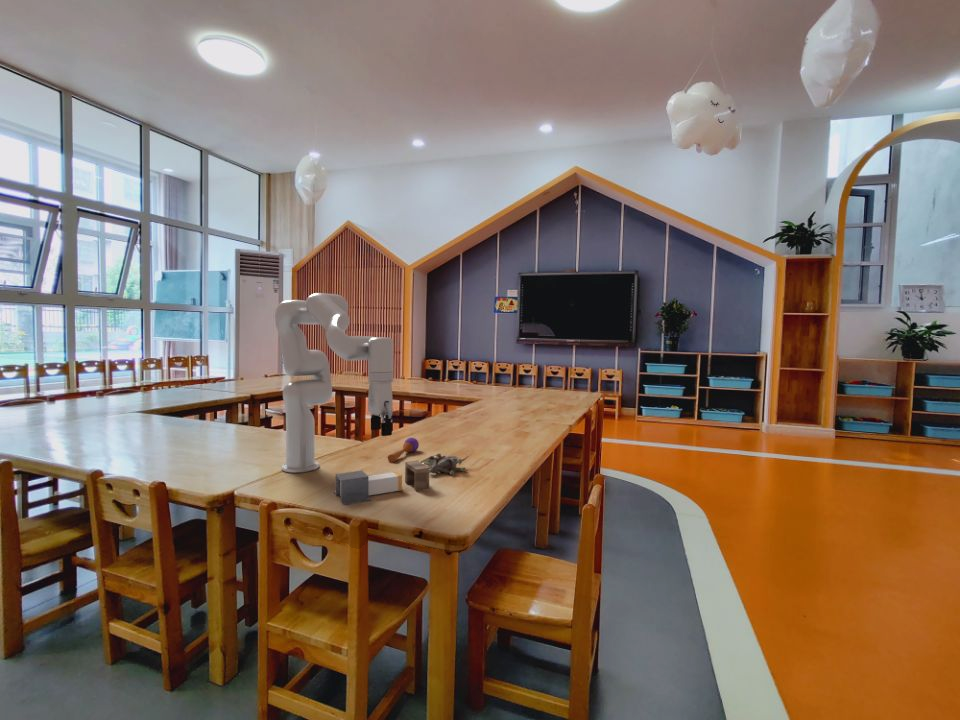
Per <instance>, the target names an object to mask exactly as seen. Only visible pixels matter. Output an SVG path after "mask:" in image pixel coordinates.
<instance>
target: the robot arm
mask: <svg viewBox="0 0 960 720" xmlns="http://www.w3.org/2000/svg"><path fill="white" fill-rule="evenodd" d="M348 312H349V303H348V301H347V299H345V297H344V296H343V295H340V294H337V293H335V294H334V293H325V292H324V293H323V292H315V293H312V294H311V295H309V296H307V298H306V300H301V299H288V300H287V299H286V300H283V301H282V302H280V303H279V304H278V305H277V306H276V309H275V312H274V323H275V327H276V331H277V333H278V336H279V338H280V346H281V347H280V348H281V353H282V360H283V361H282V363H283V368H284V372H285V374H286V375H287V376H290V377H293V378H295V377H297V378H298V377H301V378H302V377H311V379H302V380H301V379H299V380H293V381H290V382H288V383H286V385H285V386H283V389H282V399H283V404H284V409H285V411H284V412H285V432H286V433H285V439H286V440H285V441H286V443H285V444H286V445H285V447H286V448H285V449H286V452H285V453H286V454H285V455H286V457H285V458H286V459H285V460H286V461H285V463H283V464H282V465H281V470H282V471H283V472H285V473H291V474H292V473H294V474H295V473H296V474H298V473H306V472H312V471H314V470H317V469H318V468H319V467H320V462H318V461H317V460H315V459H316V458H315V456H316V455H315V453H316V452H315V449H316V447H315V438H316V437H315V417H314V414H313V412H312V411H311V409H310V408H309V407H311V406H317V405H324V404H327V403H328V402H330V401H331V399H332V397H333V383H332V377H331V375H332V374H331V370H330V369H331V368H330V363H329V359H328V357H327V355H326V354H325V352H323V351H322V350H319V349H308V345H307V337H306V335H305V334H304V332H303V330H302V329H301V328H300V326H298V325H315V326H316V325H317V326H318V325H321V327H323V329H324V330H325V337H326V342H327V345H328V347H329V348H330V350H332V352H333V353H335V355H336V356H337V357H339V358H340V359H342V360H344V361H349V362H351V361H367V362H368V363H367V364H368V367H367V369H368V370H367V371H368V383H369V385H368V395H367V397H368V399H367V411H368V412H369V413H370V430H371V431H378V430H380V436H381V437H388V436H393V412H394V409H393V408H394V405H393V404H394V403H393V402H394V401H393V400H394V399H393V387H392V383H394V341H393V339H392V338H391V337H387V336H386V337H385V336H384V337H383V336H377V337H375V336H373V335H372V336H371V335H370V336H369V335H367V336H365V335H353V336H352V335H348V334H346V333H345V331H346V330H347V329H348V327H349V325H350V323H351V320H350V316H349V315H348Z"/></svg>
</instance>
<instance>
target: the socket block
mask: <svg viewBox="0 0 960 720" xmlns="http://www.w3.org/2000/svg"><path fill="white" fill-rule="evenodd" d="M404 463H405V466H404V468H405V469H404V470H405V471H404V482H405V484H406V485H411V484H413V486H414V487H413V489H414V490H413V491H415V492H421V491H424V490H425V491H426V490H429V489H430V473H429V470H430V468H429V467H428V465H425V464H423V463H421V461H420V460H411V461H405V462H404Z"/></svg>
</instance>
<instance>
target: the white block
mask: <svg viewBox="0 0 960 720" xmlns="http://www.w3.org/2000/svg"><path fill="white" fill-rule="evenodd" d="M368 476H369V477H368V497H370V496H372V495H373V496H375V495H380V494H386V493H392V492H400V491H403V475H402V474H401V473H399V471H392V472H385V473H381V474H373V475H368ZM340 497H341V482H340Z"/></svg>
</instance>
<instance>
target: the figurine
mask: <svg viewBox="0 0 960 720" xmlns="http://www.w3.org/2000/svg"><path fill="white" fill-rule="evenodd" d="M468 458H469V455H467V456H465V457H464V458H460V457H457V456H456V455H450V456H446V455H443V454H442V453H437V454H434V455H431V456H428V457H427V458H424V459H423V460H421V461H420V462H421V463H423V464H424V465H426V466H428V467H429V474H438V472H441V473H446V474H450V476H452V475H454V473H455V472H458V471H460V472H465V471H466V470H467V468H466V467H465V466H461V467H458V466H457V465H459V466H460V465H461V464H462V463H463V462H464V461H466V460H467V459H468Z"/></svg>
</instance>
